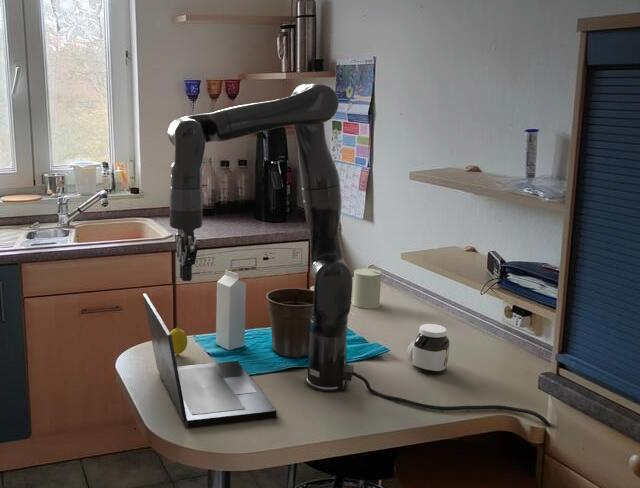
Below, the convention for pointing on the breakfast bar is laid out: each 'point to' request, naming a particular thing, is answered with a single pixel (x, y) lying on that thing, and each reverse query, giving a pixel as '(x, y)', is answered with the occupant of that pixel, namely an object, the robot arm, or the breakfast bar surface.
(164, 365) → the laptop screen
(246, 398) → the laptop
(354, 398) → the breakfast bar surface
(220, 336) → the milk
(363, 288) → the can
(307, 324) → the plant pot
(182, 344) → the lemon
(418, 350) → the spread jar
